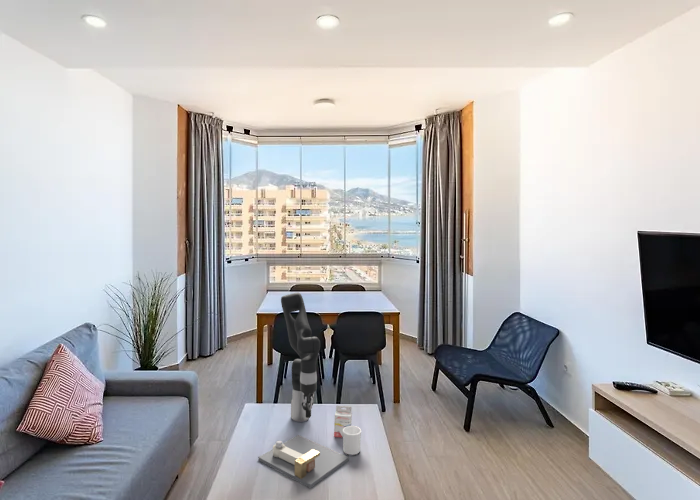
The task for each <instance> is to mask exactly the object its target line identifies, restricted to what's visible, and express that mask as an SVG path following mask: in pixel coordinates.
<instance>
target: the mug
mask: <svg viewBox="0 0 700 500" xmlns="http://www.w3.org/2000/svg"><path fill="white" fill-rule="evenodd" d="M361 438H362V429H361V428H360V427H359V426H356V425H351V426H347V427H345V428H344V429H343V438H342V444H343V445H342V447H343V451H342V452H343V453H344V455H346V454H347V455H346V456H349V455H355V456H357V455H356V454H358V453H359V452H360V453H361ZM360 453H359V454H360ZM359 454H358V455H359Z"/></svg>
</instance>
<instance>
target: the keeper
mask: <svg viewBox="0 0 700 500" xmlns="http://www.w3.org/2000/svg"><path fill="white" fill-rule="evenodd" d="M318 456H320V452H318V451H316V450H314V449H312V450H311V451H309V452H308V453H306V454H304V455H303V456H301V457H300V458H298V459H296V460H295V476H297V477H299V478H301V479H302V478H304V477H305V476H306V464H308V463H309V462H311V461H312V460H314V459H315V458H317V457H318Z"/></svg>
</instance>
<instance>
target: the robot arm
mask: <svg viewBox="0 0 700 500" xmlns="http://www.w3.org/2000/svg"><path fill="white" fill-rule="evenodd" d="M280 303H281V304H280V305H281V308H282V312H283V315H284V320H285V323H286V329H287V336H288V342H289V345H290V346H291V348H292V349H293V350H294V352H296V354H297V355H298V356H299V358H295V359H294V360H293V361H292V363H291V385H292V386H291V387H292V399H291V401H290V419H292V421H293V422H298V423H302V422H306V421H308V420H309V418H311V416H312V408H313V405H314V401H315V396H316V392H317V389H318V385H317V384H318V382H317V381H318V374H317V362H318V355H319V353H320V349H321V340H320V339H319V337H317V336H313V335H312V334H313V332H312V329H311V326H310V323H309V321H308V315H307V310H306V305H305V303H304V299H303V296H302V294H301V293H300V292H293V293H289V294H284V295H283V296H281V298H280ZM297 311H298V313H297V316H296V318H294V317H293V315H292V314H291V313H294V312H297Z"/></svg>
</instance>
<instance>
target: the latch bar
mask: <svg viewBox="0 0 700 500" xmlns="http://www.w3.org/2000/svg"><path fill="white" fill-rule="evenodd" d="M272 449H273V456H274V457H279V458H281V459H283V460H285V461H287V462H289V463H291V464H293V465H295V460H296V459H298V458H300V457H301V456H303V454H301V453H299V452H297V451H295V450H292V449H290V448H288V447H286V446H285V445H284V444H283V441H282V440H277V441H276V442H275V444H274V445H273V446H272ZM314 468H315V459H314V460H312V461H311V462H309V463H308V464H306V471H308V472H309V471H311V470H312V469H314Z"/></svg>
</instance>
